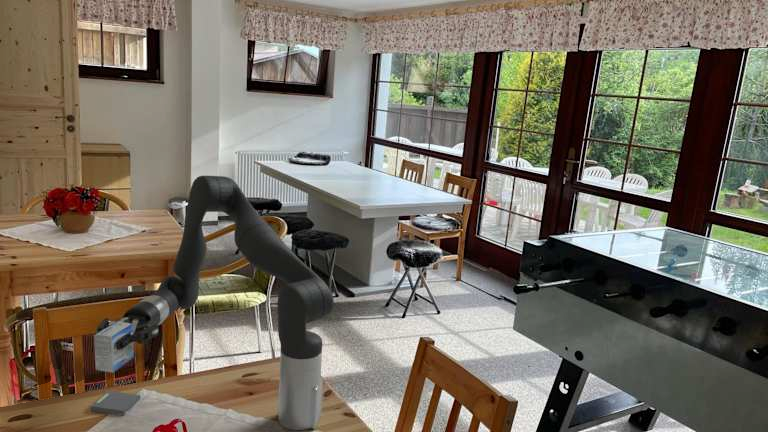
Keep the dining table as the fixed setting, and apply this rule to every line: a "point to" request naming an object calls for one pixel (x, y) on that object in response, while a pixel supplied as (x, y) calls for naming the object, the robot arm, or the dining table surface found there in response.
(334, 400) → the dining table surface
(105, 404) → the plate
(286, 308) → the robot arm
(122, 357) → the medicine box
